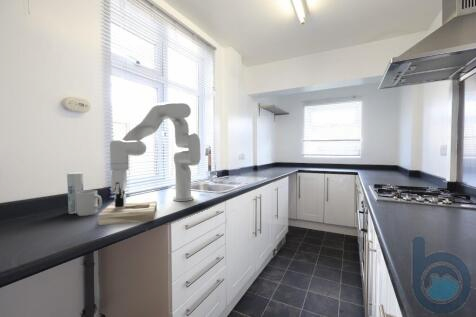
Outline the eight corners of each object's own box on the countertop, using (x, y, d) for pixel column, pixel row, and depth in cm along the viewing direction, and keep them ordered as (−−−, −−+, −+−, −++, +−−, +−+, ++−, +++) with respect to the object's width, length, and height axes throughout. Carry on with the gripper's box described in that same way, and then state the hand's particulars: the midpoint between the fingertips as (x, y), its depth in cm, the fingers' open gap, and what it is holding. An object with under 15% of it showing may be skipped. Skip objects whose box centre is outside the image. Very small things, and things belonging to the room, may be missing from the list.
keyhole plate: (110, 213, 109) (109, 204, 108) (156, 209, 115) (156, 201, 115) (98, 225, 92) (98, 214, 91) (153, 220, 98) (153, 210, 98)
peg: (115, 215, 104) (115, 193, 103) (128, 214, 106) (127, 192, 105) (112, 219, 99) (112, 195, 98) (126, 218, 100) (125, 195, 100)
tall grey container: (66, 212, 109) (64, 173, 109) (81, 209, 115) (79, 172, 114) (71, 214, 106) (70, 174, 105) (86, 211, 111) (85, 172, 110)
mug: (72, 215, 105) (72, 193, 104) (87, 210, 113) (86, 189, 112) (94, 216, 103) (94, 193, 102) (108, 211, 111) (107, 190, 111)
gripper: (115, 165, 108) (115, 201, 109) (105, 168, 92) (106, 211, 93) (131, 165, 110) (132, 200, 111) (124, 168, 94) (125, 209, 95)
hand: (120, 205), depth 102 cm, fingers closed on peg, 3 cm apart
